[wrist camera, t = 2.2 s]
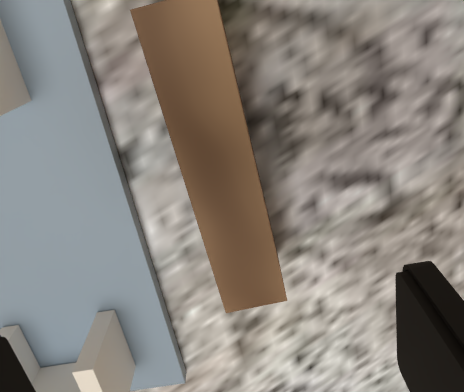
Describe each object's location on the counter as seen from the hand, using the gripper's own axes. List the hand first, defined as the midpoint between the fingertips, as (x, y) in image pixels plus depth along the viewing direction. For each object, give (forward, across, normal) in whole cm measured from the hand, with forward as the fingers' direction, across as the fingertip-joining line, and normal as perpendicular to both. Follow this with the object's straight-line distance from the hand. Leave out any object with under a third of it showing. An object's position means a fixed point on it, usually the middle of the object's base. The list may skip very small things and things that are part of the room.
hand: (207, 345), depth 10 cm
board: (+16, +13, +4) cm, 21 cm away
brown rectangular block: (+16, 0, 0) cm, 16 cm away
